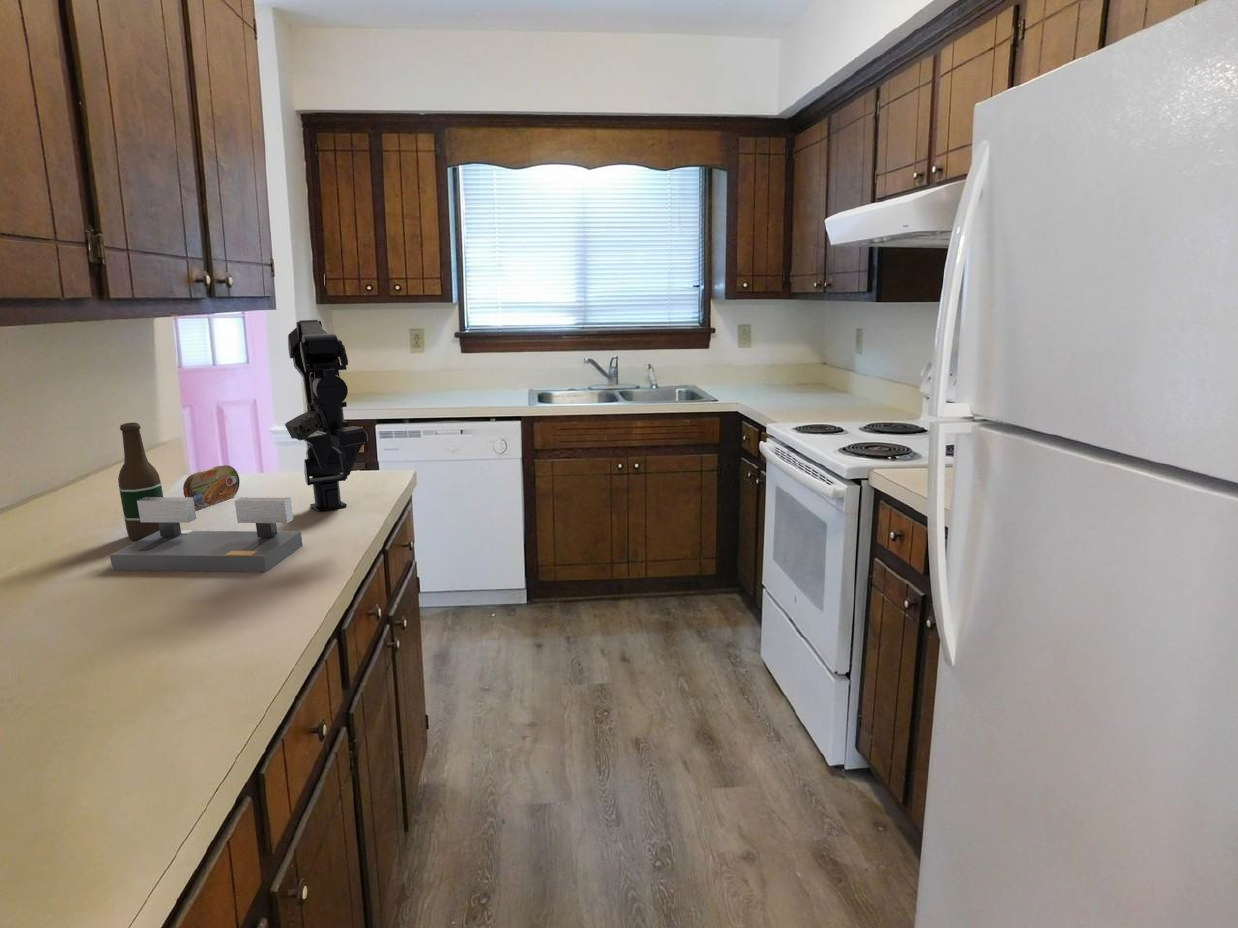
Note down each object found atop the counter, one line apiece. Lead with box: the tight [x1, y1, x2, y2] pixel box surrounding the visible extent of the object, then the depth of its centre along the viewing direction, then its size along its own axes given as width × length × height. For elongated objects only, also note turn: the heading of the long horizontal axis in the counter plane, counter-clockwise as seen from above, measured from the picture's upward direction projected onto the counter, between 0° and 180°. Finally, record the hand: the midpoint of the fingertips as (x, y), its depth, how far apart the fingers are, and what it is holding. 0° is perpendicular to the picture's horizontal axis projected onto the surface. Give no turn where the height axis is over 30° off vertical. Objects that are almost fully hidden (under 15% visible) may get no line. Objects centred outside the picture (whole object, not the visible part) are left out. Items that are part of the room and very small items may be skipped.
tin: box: [182, 464, 240, 509], centre depth 190 cm, size 15×3×8 cm, turn 162°
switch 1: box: [137, 496, 197, 537], centre depth 155 cm, size 2×10×7 cm, turn 85°
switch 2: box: [234, 497, 294, 538], centre depth 154 cm, size 2×10×7 cm, turn 85°
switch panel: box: [109, 529, 304, 573], centre depth 152 cm, size 14×30×3 cm, turn 85°
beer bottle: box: [117, 422, 164, 542], centre depth 164 cm, size 8×8×24 cm
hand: (334, 472), depth 164 cm, fingers open, 9 cm apart
